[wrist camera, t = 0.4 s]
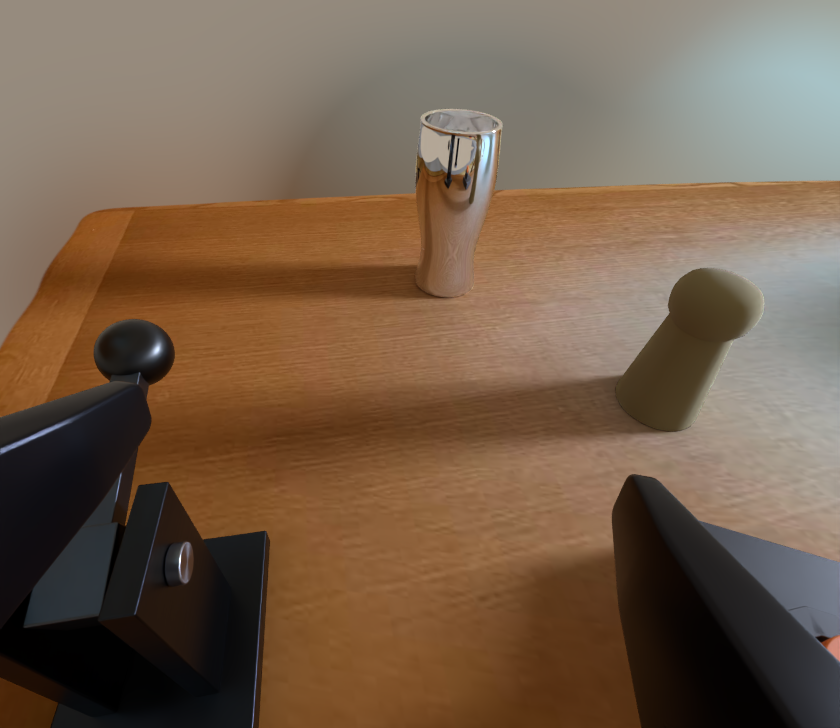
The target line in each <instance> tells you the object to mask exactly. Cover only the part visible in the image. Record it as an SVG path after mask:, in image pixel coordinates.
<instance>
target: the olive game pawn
mask: <svg viewBox="0 0 840 728" xmlns="http://www.w3.org/2000/svg"><path fill="white" fill-rule="evenodd" d="M668 308H669V311H670V313H669V315H668V316H667V317H666V319H665V320H664V321H663V323H662V324H661V325H660V327H659V328H658V329H657V331H656V332H655V333H654V335H653V336H652V337H651V339H650V340H649V341H648V343H647V344H646V345H645V347H644V348H643V349H642V351H641V352H640V353H639V355H638V356H637V357H636V359H635V360H634V361H633V363H632V364H631V365H630V367H629V368H628V369H627V371H626V372H625V373H624V375H623V376H622V377H621V379H620V380H619V381H618V383H617V386H616V389H615V391H616V398H617V399H618V401H619V403H620V405H621V407H622V408H623V409H624V410H625V411H626V412H627V413H628V414H629V415H630V416H632V417H633V418H635V419H636V420H638V421H639V422H641V423H643V424H645V425H647V426H650V427H652V428H655V429H659V430H664V431H681V430H684V429H686V428H689V427H690V426H691V425H692V424H693V423H694V422H695V420H696V418H697V416H698V414H699V412H700V410H701V408H702V405H703V403H704V401H705V399H706V397H707V395H708V393H709V391H710V389H711V387H712V385H713V382H714V380H715V378H716V376H717V374H718V372H719V370H720V368H721V366H722V364H723V361H724V359H725V357H726V355H727V353H728V351H729V349H730V347H731V345H732V343H733V340H734V339H737V338H740V337H743V336H744V335H745V334H747V333H748V332H749V331H750V330H751V329H752V328H753V327H754V326H755V325H756V324H757V323H758V321H759V320H760V319H761V317H762V314H763V311H764V296H763V294H762V292H761V291H760V289H759V288H758V287H757V286H756V285H755V284H753V283H752V282H751V281H750V280H748V279H746V278H745V277H743V276H741V275H738V274H736V273H733V272H730V271H727V270H723V269H716V268H700V269H696V270H693V271H691V272H689V273H688V274H686V275H684V276H683V277H682V278H680V280H679V281H678V282H677V283H676V284H675V285H674V287H673V289H672V291H671V294H670V298H669V303H668Z"/></svg>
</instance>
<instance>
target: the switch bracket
mask: <svg viewBox="0 0 840 728" xmlns="http://www.w3.org/2000/svg"><path fill="white" fill-rule="evenodd" d="M269 547H270V540H269V537H268V535H267V532H266V531H261V532H254V533H247V534H240V535H232V536H225V537H218V538H211V539H204V540H203V539H202V538H201V536H200V534H199V533H198V531H197V529H196V528H195V526H194V524H193V523H192V521H191V519H190V518H189V516H188V514H187V512H186V511H185V509H184V507H183V506H182V504H181V502H180V501H179V499H178V497H177V496H176V494H175V492H174V491H173V489H172V487H171V486H170V484H169V482H162V483H154V484H145V485H139V486H138V489H137V492H136V496H135V499H134V502H133V505H132V509H131V512H130V515H129V519H128V522H127V525H126V528H125V532H124V535H123V538H122V542H121V545H120V548H119V551H118V555H117V558H116V561H115V564H114V568H113V571H112V574H111V578H110V581H109V584H108V587H107V591H106V594H105V597H104V600H103V604H102V607H101V610H100V614H99V617H98V622H100V623H101V624H102V625H98V626H92V627H86V628H80V629H74V630H68V631H66V630H47V629H28V628H23V627H22V624H23V620H24V616H25V612H26V608H27V604H28V600H29V596H30V593H31V592H30V593H29V594H28V595H27V597H26V598H25V599H24V600H23V602H22V603H21V604H20V605H19V607H18V608H17V609H16V610H15V612H14V613H13V614H12V615H11V617H10V618H9V619H8V621H7V622H6V623H5V624H4V626H3V627H2V628H1V629H0V677H1V678H3V679H5V680H7V681H10V682H12V683H14V684H17V685H19V686H21V687H23V688H26V689H28V690H30V691H33V692H35V693H37V694H39V695H42V696H44V697H46V698H49V699H51V700H53V701H55V702H58V706H57V709H56V712H55V715H54V718H53V721H52V724H51V728H258V727H259V711H260V694H261V678H262V662H263V645H264V629H265V613H266V596H267V580H268V564H269Z"/></svg>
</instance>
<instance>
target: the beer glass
mask: <svg viewBox="0 0 840 728" xmlns="http://www.w3.org/2000/svg"><path fill="white" fill-rule="evenodd" d="M502 126H503V124H502V122H501V121H500V120H499V119H498V118H496V117H494V116H491V115H489V114H485V113H482V112H477V111H471V110H463V109H440V110H433V111H429V112H427V113H425V114H423V115H422V116H421V126H420V133H419V141H418V149H417V159H416V176H415V189H416V203H417V211H418V219H419V227H420V237H421V251H420V258H419V262H418V265H417V269H416V273H415V282H416V284H417V286H418V287H419V288H420V289H421V290H423V291H424V292H426V293H428V294H431V295H434V296H438V297H458V296H461V295H464V294H466V293H468V292H469V291H470V290H471V289H472V288H473V286H474V255H475V250H476V245H477V242H478V239H479V236H480V233H481V230H482V227H483V225H484V222H485V219H486V216H487V213H488V210H489V207H490V203H491V200H492V197H493V193H494V188H495V183H496V178H497V171H498V163H499V154H500V143H501V132H502Z"/></svg>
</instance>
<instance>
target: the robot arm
mask: <svg viewBox="0 0 840 728" xmlns="http://www.w3.org/2000/svg"><path fill="white" fill-rule="evenodd" d="M150 426H151V414H150V411H149V407H148V404H147V400H146V397H145V393H144V390H143V388H142V387H141V386H140V385H138V384H136V383H131V382H125V381H113V382H110V383H107V384H104V385H101V386H97V387H94V388H91V389H88V390H85V391H82V392H79V393H76V394H72V395H69V396H66V397H63V398H60V399H57V400H54V401H50V402H47V403H44V404H41V405H38V406H35V407H32V408H29V409H25V410H22V411H19V412H16V413H13V414H10V415H7V416H3V417H0V629H1V628H2V627H3V626H4V624H5V623H6V622H7V621H8V619H9V618H10V617H11V615H12V614H13V613H14V612H15V610H16V609H17V608H18V607H19V605H20V604H21V603H22V602H23V600H24V599H25V598H26V597H27V595H28V594H29V593H30V592H31V590H32V589H33V588H34V587H35V585H36V584H37V583H38V582H39V580H40V579H41V578H42V576H43V575H44V574H45V573H46V571H47V570H48V569H49V568H50V566H51V565H52V564H53V563H54V561H55V560H56V559H57V558H58V556H59V555H60V554H61V553H62V551H63V550H64V549H65V548H66V546H67V545H68V544H69V543H70V541H71V540H72V539H73V537H74V536H75V535H76V534H77V532H78V531H79V530H80V529H81V527H82V526H83V525H84V524H85V522H86V521H87V520H88V519H89V517H90V516H91V515H92V514H93V512H94V511H95V510H96V509H97V507H98V506H99V505H100V503H101V502H102V501H103V499H104V498H105V496H106V495H107V494H108V492H109V491H110V489H111V488H112V486H113V485H114V483H115V482H116V480H117V479H118V477H119V476H120V474H121V472H122V471H123V469H124V468H125V466H126V465H127V463H128V462H129V460H130V459H131V457H132V456H133V454H134V452H135V451H136V449H137V448H138V446H139V445H140V443H141V442H142V440H143V439H144V437H145V436H146V434H147V432H148V431H149V429H150ZM612 529H613V542H614V555H615V569H616V582H617V594H618V604H619V611H620V617H621V623H622V628H623V634H624V639H625V644H626V649H627V655H628V660H629V665H630V670H631V676H632V681H633V686H634V691H635V697H636V702H637V707H638V713H639V718H640V723H641V728H840V662H839V661H838V660H837V659H836V658H835V657H834V656H833V655H832V654H831V653H830V652H829V651H828V650H827V649H826V648H825V647H824V646H823V645H822V644H821V643H820V642H819V641H818V640H817V639H816V638H815V637H814V636H813V635H812V634H811V633H810V632H809V631H808V630H807V629H806V628H805V627H804V626H803V625H802V624H801V623H800V622H799V621H798V620H797V619H796V618H795V617H794V616H793V615H792V614H791V613H790V612H789V611H788V610H787V609H786V608H785V607H784V606H783V605H782V604H781V603H780V602H779V601H778V600H777V599H776V598H775V597H774V596H773V595H772V594H771V593H770V592H769V591H768V590H767V589H766V588H765V587H764V586H763V585H762V584H761V583H760V582H759V581H758V580H757V579H756V578H755V577H754V576H753V575H752V574H751V573H750V572H749V571H748V570H747V569H746V568H745V567H744V566H743V565H742V564H741V563H740V562H739V561H738V560H737V559H736V558H735V557H734V556H733V555H732V554H731V553H730V552H729V551H728V550H727V549H726V548H725V547H724V546H723V545H722V544H721V543H720V542H719V541H718V540H717V539H716V538H715V537H714V536H713V535H712V534H711V533H710V532H709V531H708V530H707V529H706V528H705V527H704V526H703V525H702V524H701V523H700V522H699V521H698V520H697V519H696V518H695V517H694V516H693V515H692V514H691V513H690V512H689V511H688V510H687V509H686V508H685V507H684V506H683V505H682V504H681V503H680V502H679V501H678V500H677V499H676V498H675V497H674V496H673V495H672V494H671V493H670V492H669V491H668V490H667V489H666V488H665V487H664V486H663V485H662V484H661V483H660V482H659V481H658V480H657V479H655V478H652V477H647V476H641V475H636V474H632V475H629V476H628V477H627V479H626V481H625V483H624V485H623V487H622V489H621V491H620V493H619V496H618V498H617V500H616V502H615V504H614V507H613V511H612Z"/></svg>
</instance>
